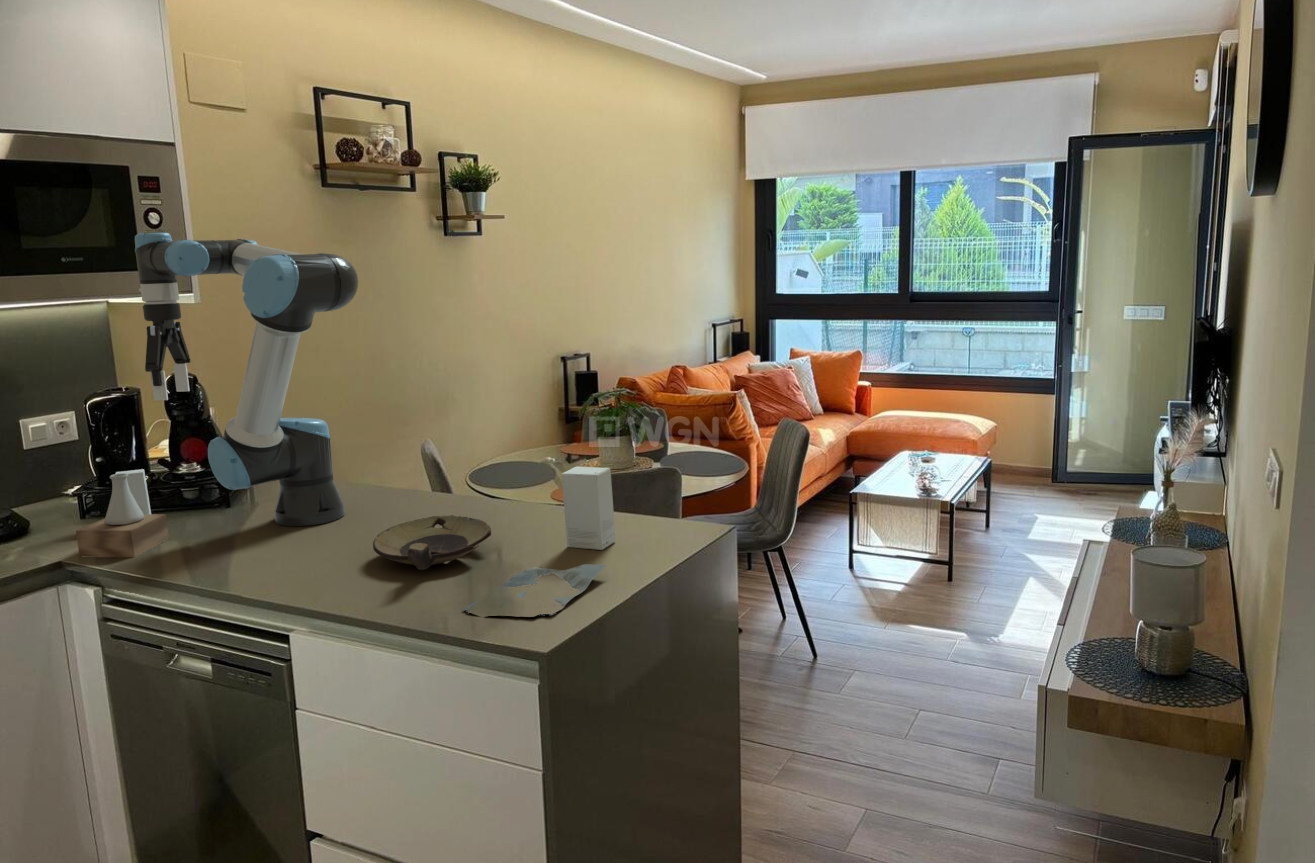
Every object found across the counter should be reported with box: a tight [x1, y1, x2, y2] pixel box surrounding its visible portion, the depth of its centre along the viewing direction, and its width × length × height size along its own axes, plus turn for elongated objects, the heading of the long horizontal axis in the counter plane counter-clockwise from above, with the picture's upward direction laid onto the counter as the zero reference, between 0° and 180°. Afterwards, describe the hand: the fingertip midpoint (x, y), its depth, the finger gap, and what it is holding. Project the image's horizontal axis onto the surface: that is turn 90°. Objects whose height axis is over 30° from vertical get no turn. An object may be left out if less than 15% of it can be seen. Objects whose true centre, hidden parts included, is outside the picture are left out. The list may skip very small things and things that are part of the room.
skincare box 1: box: [115, 468, 152, 514], centre depth 226 cm, size 6×4×12 cm
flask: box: [104, 473, 145, 525], centre depth 206 cm, size 7×7×10 cm
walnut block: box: [75, 513, 170, 558], centre depth 207 cm, size 12×12×6 cm
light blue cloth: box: [461, 563, 608, 616], centre depth 172 cm, size 24×16×2 cm, turn 157°
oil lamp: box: [372, 514, 492, 571], centre depth 191 cm, size 22×30×8 cm
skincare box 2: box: [561, 465, 617, 551], centre depth 198 cm, size 8×7×16 cm
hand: (172, 395), depth 226 cm, fingers open, 13 cm apart
